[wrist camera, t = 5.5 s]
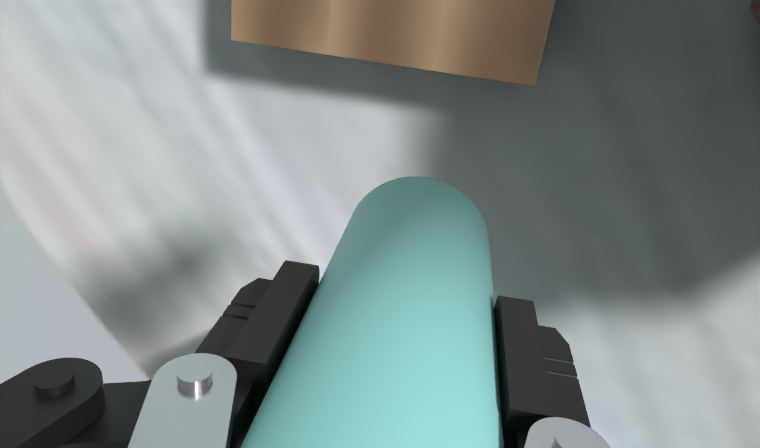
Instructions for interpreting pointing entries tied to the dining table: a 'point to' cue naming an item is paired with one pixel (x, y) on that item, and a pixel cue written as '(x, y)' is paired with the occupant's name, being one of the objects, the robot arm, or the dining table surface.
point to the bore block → (407, 32)
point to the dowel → (395, 333)
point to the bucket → (756, 8)
